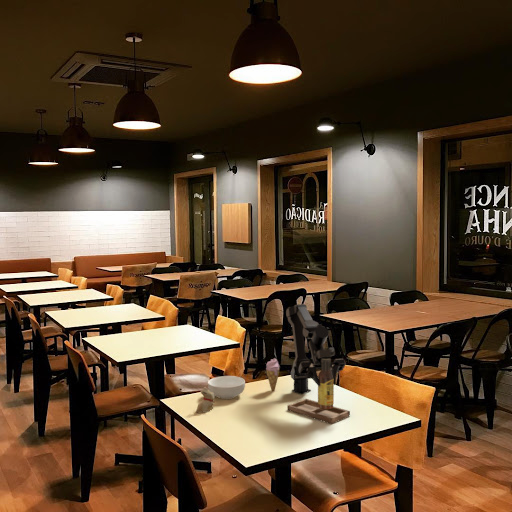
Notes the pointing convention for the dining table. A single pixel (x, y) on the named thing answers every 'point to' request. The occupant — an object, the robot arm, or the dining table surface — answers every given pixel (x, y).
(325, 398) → the sauce bottle
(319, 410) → the walnut holder
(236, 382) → the cereal bowl
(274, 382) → the ice cream cone
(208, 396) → the chocolate bunny
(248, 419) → the dining table surface
